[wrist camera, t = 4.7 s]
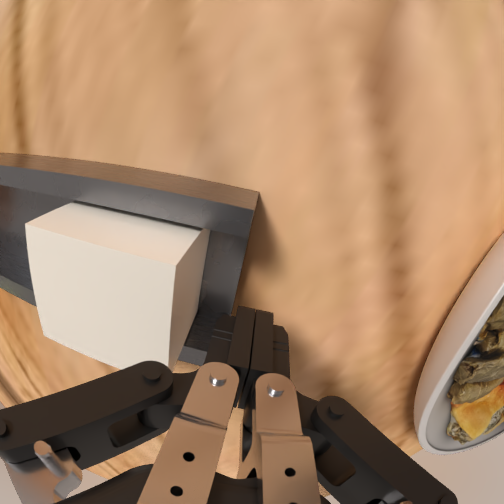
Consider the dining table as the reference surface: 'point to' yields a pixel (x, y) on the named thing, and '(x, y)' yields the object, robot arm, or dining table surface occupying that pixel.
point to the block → (116, 282)
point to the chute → (137, 201)
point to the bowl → (466, 367)
